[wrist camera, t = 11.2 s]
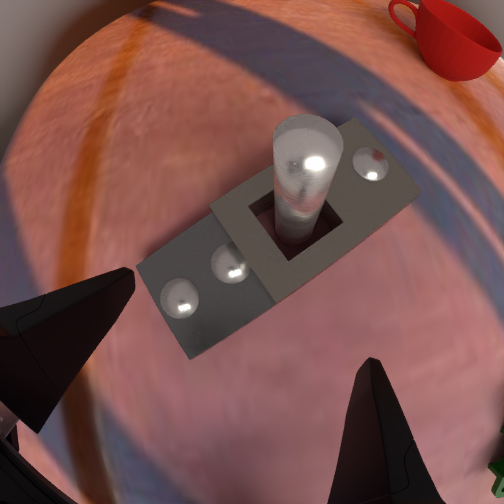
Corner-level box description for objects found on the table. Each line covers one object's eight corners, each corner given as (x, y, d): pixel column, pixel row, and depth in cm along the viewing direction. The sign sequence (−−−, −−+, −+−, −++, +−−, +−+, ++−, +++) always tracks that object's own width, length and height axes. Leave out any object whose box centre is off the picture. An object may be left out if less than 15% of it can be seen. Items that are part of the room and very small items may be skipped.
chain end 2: (194, 357, 22) (188, 360, 20) (143, 269, 24) (134, 265, 23) (369, 236, 23) (375, 230, 22) (307, 160, 25) (308, 150, 24)
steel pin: (289, 252, 24) (302, 183, 11) (267, 222, 24) (258, 133, 12) (320, 231, 24) (357, 149, 12) (297, 202, 24) (312, 105, 12)
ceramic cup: (380, 23, 31) (391, -22, 21) (469, 64, 28) (490, 26, 18) (376, 61, 28) (393, 4, 19) (481, 111, 26) (513, 69, 16)
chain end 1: (275, 304, 23) (275, 302, 20) (216, 218, 25) (208, 204, 22) (408, 204, 24) (423, 190, 20) (348, 135, 26) (355, 116, 23)
